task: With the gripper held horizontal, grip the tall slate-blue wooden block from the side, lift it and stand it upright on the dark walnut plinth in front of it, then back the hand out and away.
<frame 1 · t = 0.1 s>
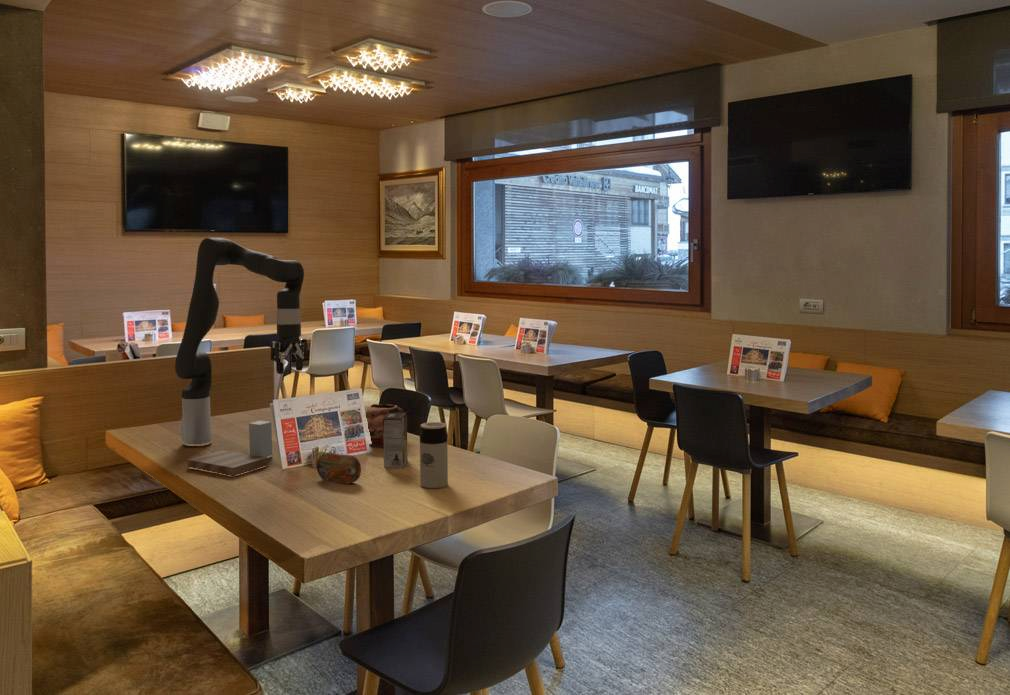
hand: (289, 372, 252), 29 cm above the table, tool pointing down, fingers open, 8 cm apart
decorative planter: (385, 443, 278), on the table
slate block: (261, 458, 257), on the table
walnut plinth: (228, 467, 245), on the table
coffee box: (396, 464, 250), on the table
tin: (339, 482, 230), on the table
travel mug: (434, 485, 226), on the table
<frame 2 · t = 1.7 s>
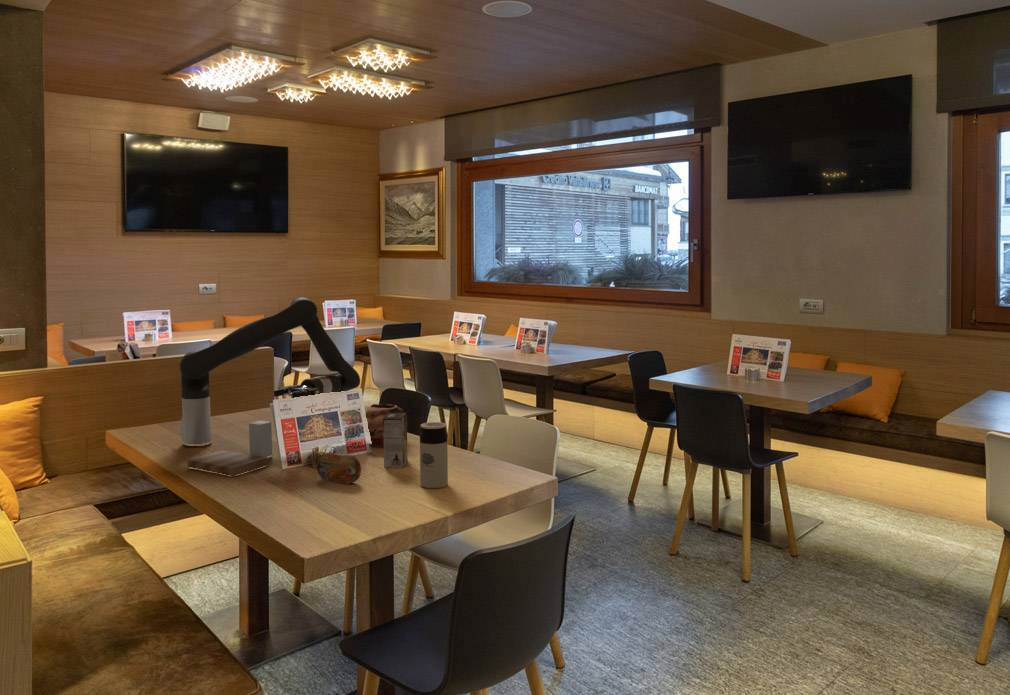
hand: (283, 394, 265), 20 cm above the table, tool horizontal, fingers open, 8 cm apart
nothing on the table moved.
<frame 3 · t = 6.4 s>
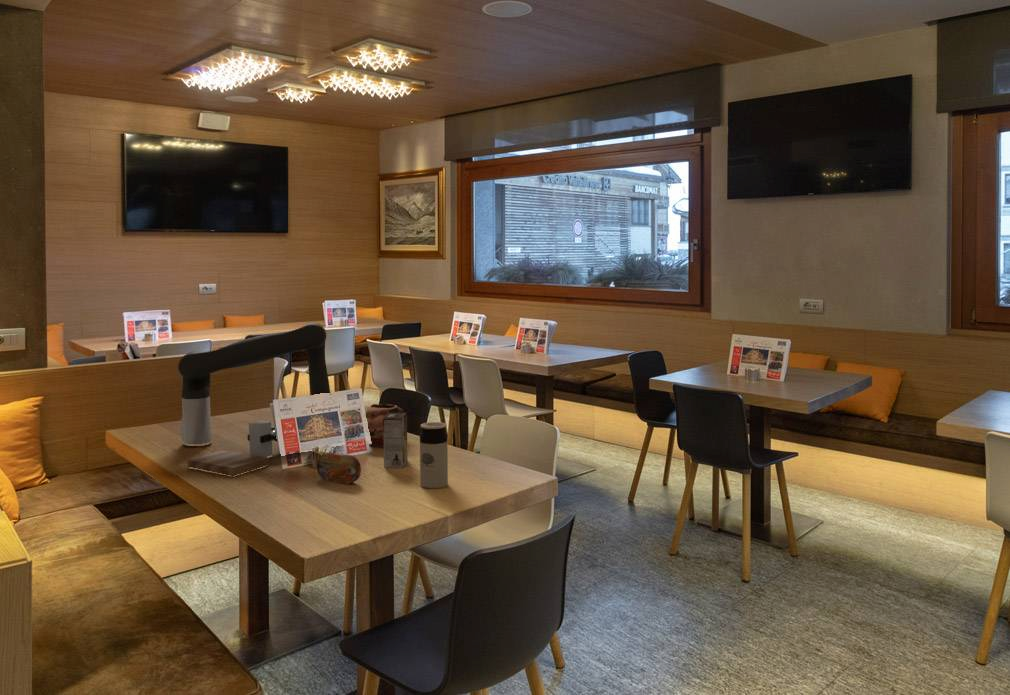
hand: (254, 438, 254), 7 cm above the table, tool horizontal, fingers closed on slate block, 5 cm apart
slate block: (261, 458, 257), on the table, touching gripper
everything else where it was.
when the fingers open (11 cm above the table, at t = 12.1 s): slate block drops 1 cm, resting on walnut plinth.
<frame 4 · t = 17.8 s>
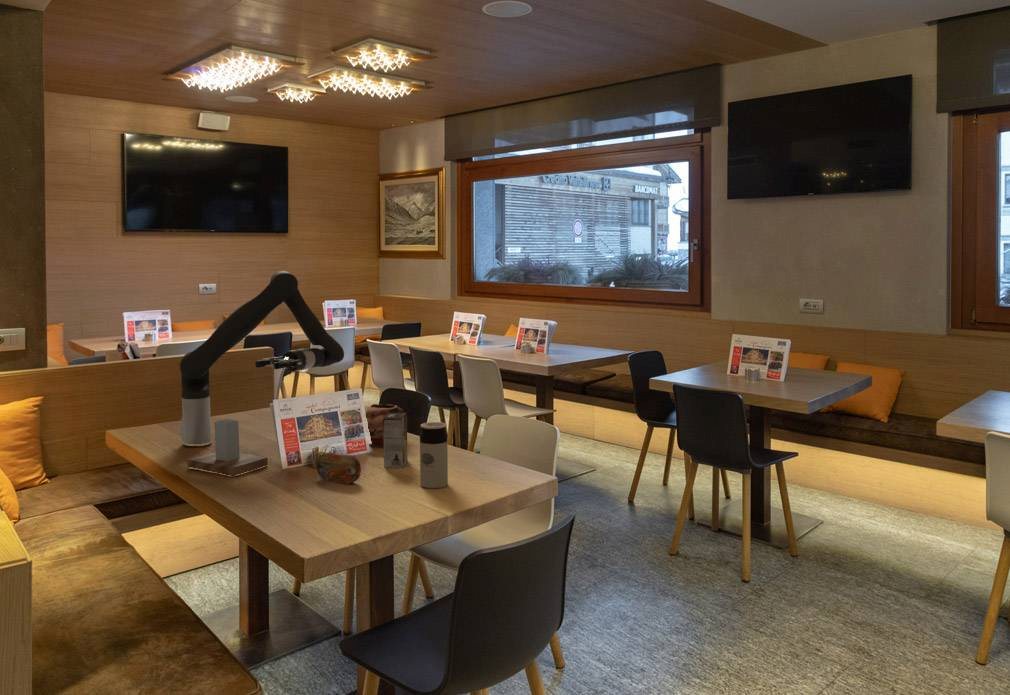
hand: (265, 365, 262), 30 cm above the table, tool horizontal, fingers open, 8 cm apart
slate block: (227, 458, 245), point 3 cm above the table, touching walnut plinth
everything else where it was.
at the end: slate block inside the target area on the walnut plinth (0.0 cm from its centre), point 3.0 cm above the walnut plinth's base; slate block tilted 0°; the gripper is holding nothing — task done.
